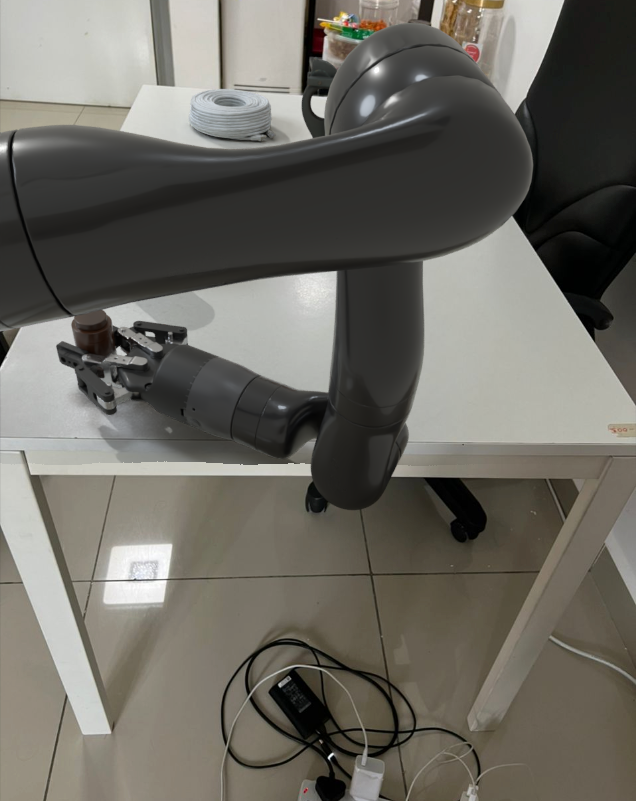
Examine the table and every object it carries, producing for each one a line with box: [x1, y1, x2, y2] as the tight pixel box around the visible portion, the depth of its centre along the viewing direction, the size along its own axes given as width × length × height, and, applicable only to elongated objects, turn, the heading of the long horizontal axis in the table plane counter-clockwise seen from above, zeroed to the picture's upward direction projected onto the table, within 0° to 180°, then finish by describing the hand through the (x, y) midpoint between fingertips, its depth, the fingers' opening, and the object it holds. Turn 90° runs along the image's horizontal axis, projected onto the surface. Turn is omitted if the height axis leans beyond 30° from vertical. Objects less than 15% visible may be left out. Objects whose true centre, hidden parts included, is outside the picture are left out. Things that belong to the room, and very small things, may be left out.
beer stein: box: [301, 56, 338, 139], centre depth 117 cm, size 19×15×20 cm
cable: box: [187, 88, 276, 143], centre depth 136 cm, size 18×18×6 cm
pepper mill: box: [70, 309, 118, 372], centre depth 69 cm, size 4×4×10 cm
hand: (75, 339), depth 69 cm, fingers closed on pepper mill, 4 cm apart
